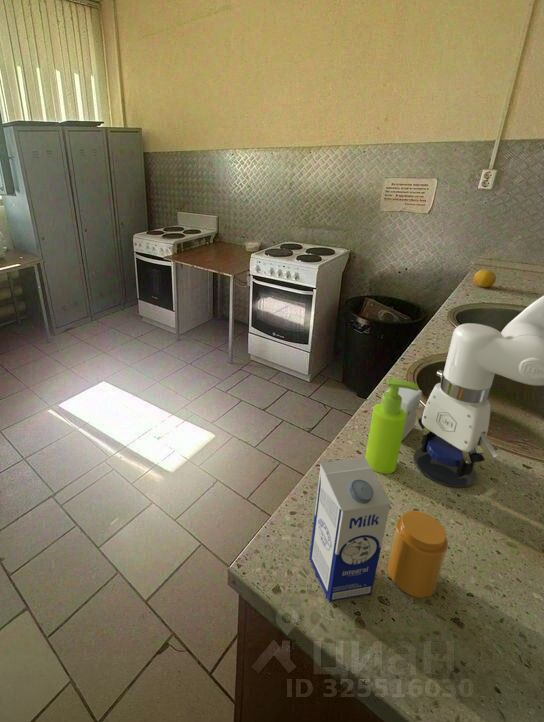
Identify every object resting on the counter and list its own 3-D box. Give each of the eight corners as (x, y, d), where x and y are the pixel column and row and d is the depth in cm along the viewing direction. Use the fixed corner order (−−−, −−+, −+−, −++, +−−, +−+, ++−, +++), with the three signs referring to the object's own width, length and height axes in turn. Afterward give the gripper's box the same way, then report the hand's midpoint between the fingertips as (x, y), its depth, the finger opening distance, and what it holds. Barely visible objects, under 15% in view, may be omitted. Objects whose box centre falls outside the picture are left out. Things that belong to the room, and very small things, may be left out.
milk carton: (348, 551, 65) (365, 455, 58) (372, 593, 59) (394, 491, 52) (308, 558, 64) (319, 461, 57) (328, 601, 58) (343, 499, 51)
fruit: (475, 282, 190) (479, 266, 187) (495, 286, 184) (500, 270, 181) (469, 287, 185) (473, 270, 182) (489, 290, 179) (494, 274, 176)
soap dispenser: (403, 477, 79) (421, 393, 72) (366, 470, 81) (380, 387, 74) (398, 457, 84) (415, 376, 77) (363, 450, 87) (377, 371, 79)
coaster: (457, 450, 86) (458, 447, 86) (488, 490, 76) (489, 487, 76) (404, 447, 87) (405, 445, 87) (427, 486, 77) (428, 484, 77)
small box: (390, 417, 97) (397, 380, 93) (414, 428, 93) (423, 390, 89) (375, 431, 92) (381, 393, 89) (399, 443, 88) (408, 404, 85)
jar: (423, 557, 64) (436, 509, 60) (444, 600, 58) (459, 549, 54) (381, 553, 65) (391, 506, 61) (396, 595, 58) (408, 545, 55)
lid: (436, 466, 78) (437, 459, 77) (420, 441, 84) (421, 435, 83) (474, 468, 77) (476, 461, 76) (455, 443, 83) (457, 436, 83)
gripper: (409, 370, 81) (394, 440, 87) (502, 419, 66) (476, 499, 72) (434, 362, 83) (418, 431, 90) (528, 407, 69) (501, 485, 75)
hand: (444, 461), depth 81 cm, fingers closed on lid, 6 cm apart
